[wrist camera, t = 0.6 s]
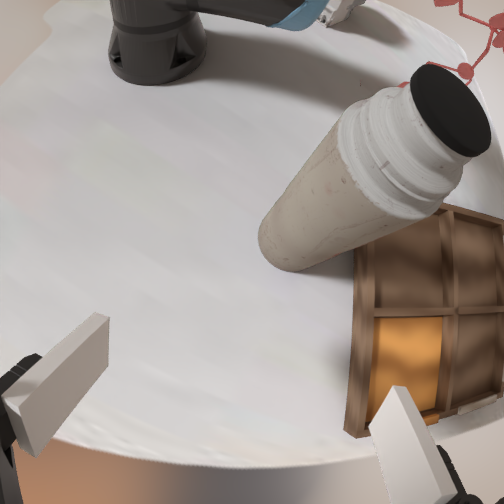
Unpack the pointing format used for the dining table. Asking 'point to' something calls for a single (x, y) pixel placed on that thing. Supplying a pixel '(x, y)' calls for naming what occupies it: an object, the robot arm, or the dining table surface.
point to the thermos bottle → (377, 170)
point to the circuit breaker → (337, 11)
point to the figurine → (495, 22)
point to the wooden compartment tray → (429, 317)
